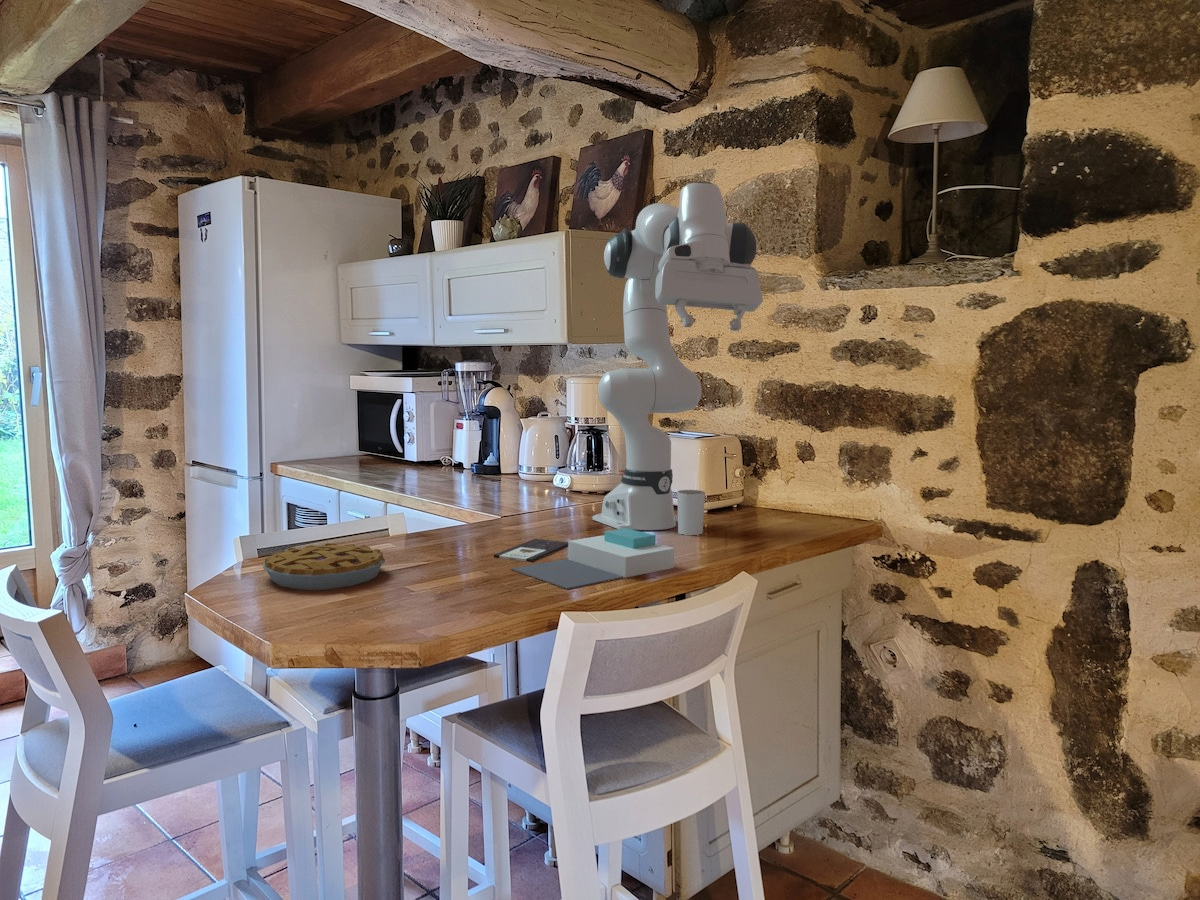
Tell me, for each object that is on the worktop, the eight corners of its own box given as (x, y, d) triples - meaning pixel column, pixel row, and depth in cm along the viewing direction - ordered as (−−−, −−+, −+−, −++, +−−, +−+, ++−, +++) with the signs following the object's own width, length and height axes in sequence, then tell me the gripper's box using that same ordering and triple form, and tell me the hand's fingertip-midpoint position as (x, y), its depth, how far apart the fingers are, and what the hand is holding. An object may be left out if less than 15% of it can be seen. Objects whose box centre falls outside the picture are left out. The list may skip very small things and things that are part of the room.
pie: (341, 558, 182) (340, 534, 181) (408, 576, 168) (407, 550, 168) (240, 578, 165) (240, 552, 165) (306, 600, 151) (305, 571, 151)
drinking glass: (671, 534, 209) (672, 492, 208) (682, 529, 215) (683, 488, 214) (698, 537, 206) (699, 495, 205) (708, 532, 212) (709, 491, 211)
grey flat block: (568, 559, 182) (568, 540, 182) (615, 551, 190) (615, 533, 190) (625, 577, 168) (625, 557, 168) (673, 567, 177) (674, 548, 176)
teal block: (604, 541, 182) (604, 531, 182) (626, 537, 186) (626, 528, 186) (633, 548, 175) (633, 538, 175) (655, 544, 179) (655, 535, 179)
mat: (511, 569, 173) (511, 568, 173) (566, 560, 182) (566, 558, 182) (566, 589, 160) (566, 588, 159) (623, 578, 168) (623, 576, 168)
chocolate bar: (570, 542, 196) (531, 559, 180) (570, 546, 196) (531, 564, 180) (535, 538, 200) (493, 554, 184) (534, 542, 200) (493, 559, 184)
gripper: (750, 273, 171) (757, 338, 167) (650, 263, 165) (654, 331, 161) (764, 257, 165) (771, 324, 161) (660, 246, 160) (665, 316, 156)
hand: (712, 327), depth 161 cm, fingers open, 8 cm apart
